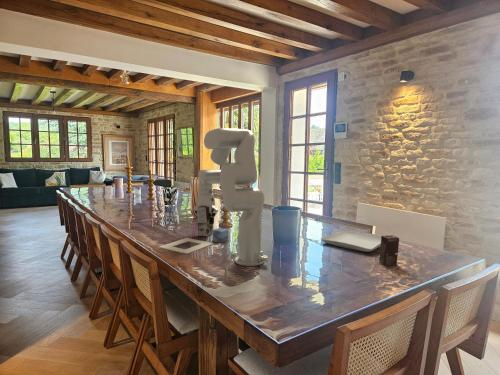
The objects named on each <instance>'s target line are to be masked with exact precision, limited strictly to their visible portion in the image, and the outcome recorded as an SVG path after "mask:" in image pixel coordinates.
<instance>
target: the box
mask: <svg viewBox="0 0 500 375" xmlns="http://www.w3.org/2000/svg"><path fill="white" fill-rule="evenodd" d="M399 243H400V237H398V236H396V235H381V246H380V247H379V248H380V249H379V261H378V262H379V264H380V265H382V266H397V264H398V257H399V254H398V253H399V247H400V246H399V245H400V244H399Z"/></svg>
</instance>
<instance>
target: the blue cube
mask: <svg viewBox="0 0 500 375" xmlns="http://www.w3.org/2000/svg"><path fill="white" fill-rule="evenodd" d="M211 235H212V236H211V237H212V240H211V241H212V242H216V243H221V244H222V242H223V243H225V242H227V241H229V229H228V228H223V227H217V228H215V229H214V228H213V230H212V234H211Z"/></svg>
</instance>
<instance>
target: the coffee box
mask: <svg viewBox="0 0 500 375" xmlns="http://www.w3.org/2000/svg"><path fill="white" fill-rule="evenodd" d="M211 214H212V213H211ZM196 216H197V217H196V218H197V219H196V221H197V222H196V223H197V225H196V226H197V234H196V236H200V237H209V236H211V235H212V230H214V224H211V225H210V224H209V218H210V215H209V207H204V206H199V207H197V215H196Z"/></svg>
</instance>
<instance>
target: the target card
mask: <svg viewBox="0 0 500 375" xmlns="http://www.w3.org/2000/svg"><path fill="white" fill-rule="evenodd" d="M188 242H189V243H192V244H197V245H194V246H191V247H189V248H186V249H185V248H180V247H178V246H179V245H182V244H185V243H188ZM214 244H215V243H214V242H211V241H210V242H209V241H204V240H199V239H194V238H190V237H189V238H188V237H185V238H183V239H178V240H176V241H173V242H170V243H166V244H163V245H161V246H158V248H159V249H164V250H168V251H172V252H177V253H181V254H184V255H185V254H186V255H189V254H191V253H192V252H193V253H194V252H196V251H198V250H202V249H203V248H207V247H209V246H212V245H214ZM176 246H177V247H176Z"/></svg>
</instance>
